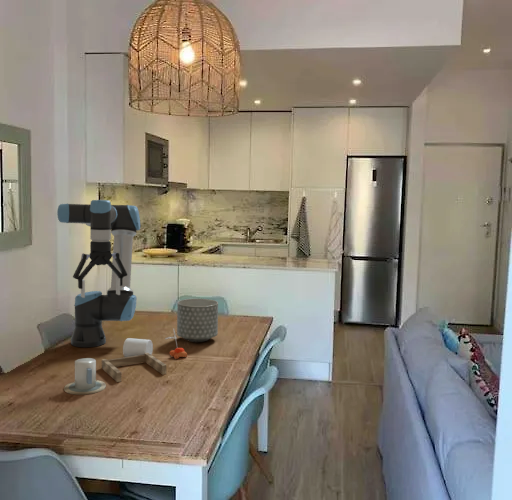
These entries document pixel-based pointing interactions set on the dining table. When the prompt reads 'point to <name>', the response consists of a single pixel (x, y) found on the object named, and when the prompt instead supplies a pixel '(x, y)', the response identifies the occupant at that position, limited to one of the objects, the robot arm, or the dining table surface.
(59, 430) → the dining table surface
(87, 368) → the blue handled white cup
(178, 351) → the orange lump with branch
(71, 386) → the coaster
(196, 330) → the planter
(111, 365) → the wooden u-shaped frame
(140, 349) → the mug
